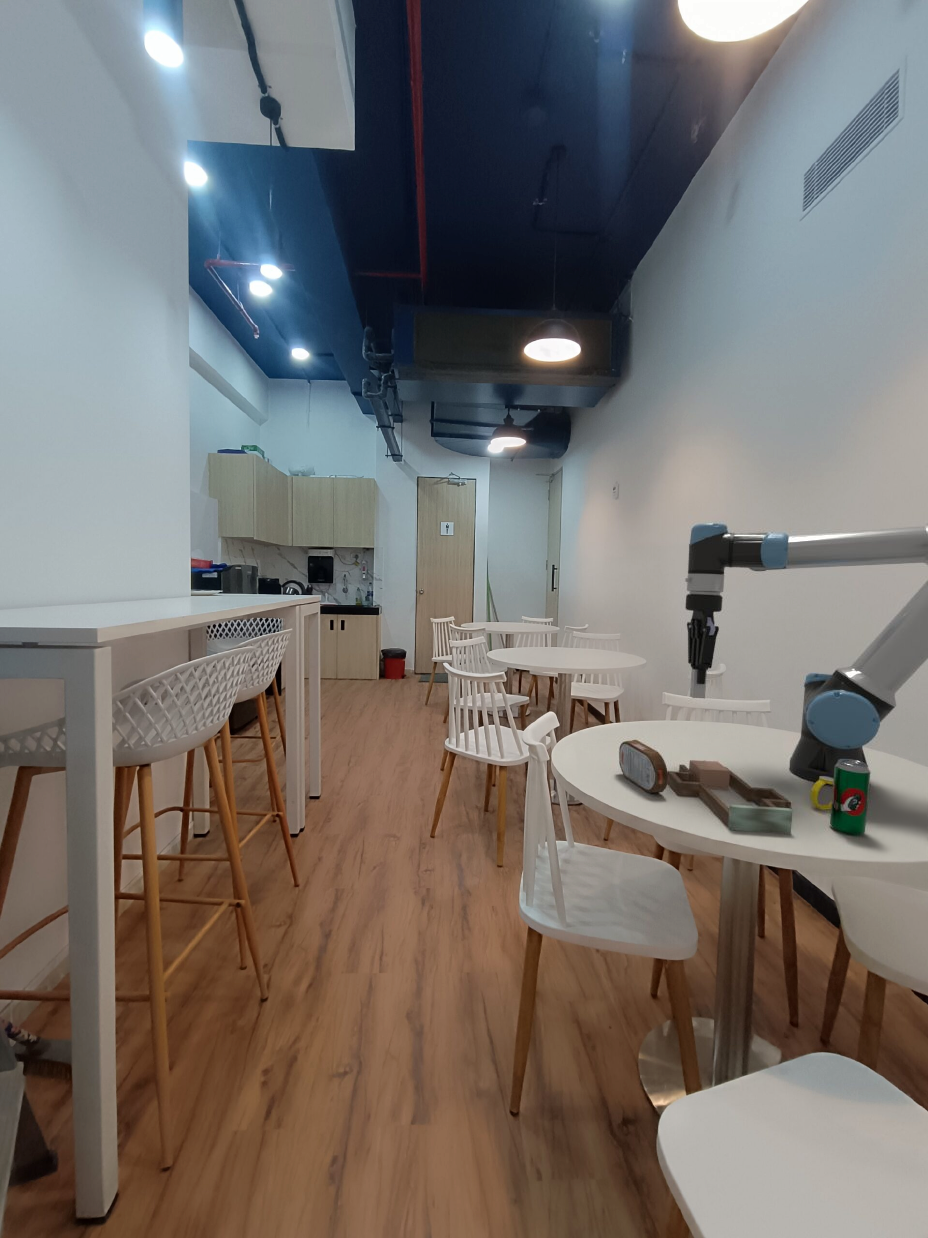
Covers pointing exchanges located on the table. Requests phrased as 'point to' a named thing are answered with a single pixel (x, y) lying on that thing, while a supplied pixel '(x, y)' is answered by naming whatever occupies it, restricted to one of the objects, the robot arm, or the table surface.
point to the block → (710, 773)
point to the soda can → (850, 797)
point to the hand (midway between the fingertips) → (697, 697)
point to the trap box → (761, 818)
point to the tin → (643, 766)
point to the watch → (816, 789)
